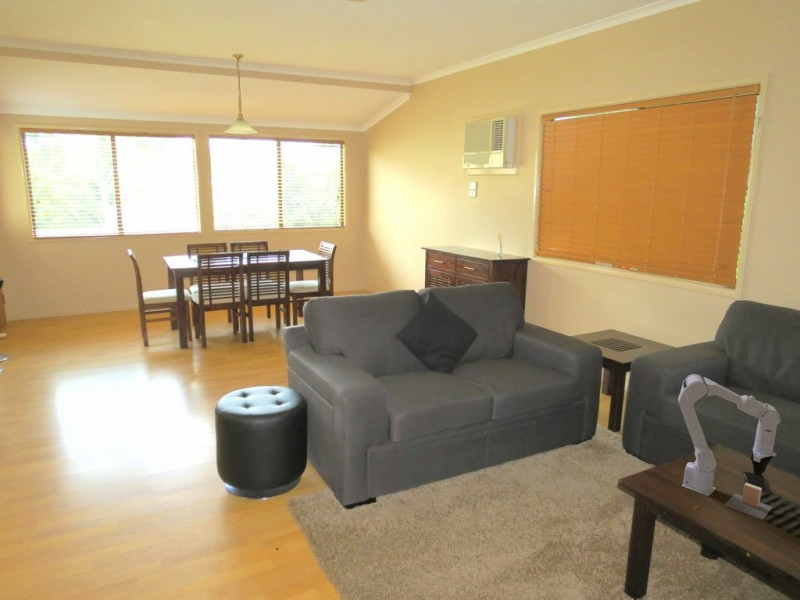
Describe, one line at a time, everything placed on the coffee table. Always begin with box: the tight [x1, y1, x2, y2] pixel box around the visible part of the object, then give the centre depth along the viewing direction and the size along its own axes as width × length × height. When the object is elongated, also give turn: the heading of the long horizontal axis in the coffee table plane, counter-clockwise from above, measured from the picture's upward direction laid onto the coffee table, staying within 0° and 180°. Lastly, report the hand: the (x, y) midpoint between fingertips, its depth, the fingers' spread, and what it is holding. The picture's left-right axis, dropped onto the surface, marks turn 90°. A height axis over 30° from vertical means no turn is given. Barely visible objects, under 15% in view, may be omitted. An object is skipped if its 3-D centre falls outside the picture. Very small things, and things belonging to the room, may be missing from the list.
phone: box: [741, 470, 772, 495], centre depth 216 cm, size 8×1×15 cm
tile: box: [742, 483, 762, 508], centre depth 200 cm, size 5×2×7 cm, turn 43°
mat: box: [724, 492, 773, 521], centre depth 200 cm, size 12×12×1 cm
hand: (758, 473), depth 203 cm, fingers open, 3 cm apart
